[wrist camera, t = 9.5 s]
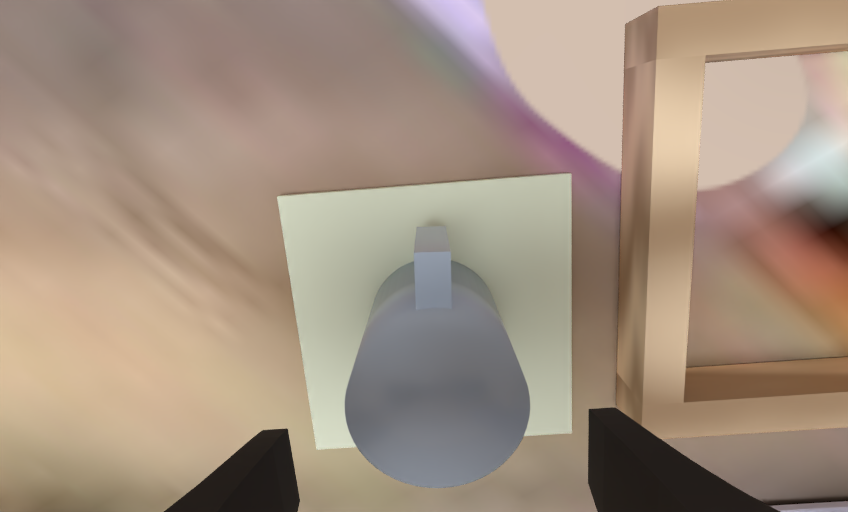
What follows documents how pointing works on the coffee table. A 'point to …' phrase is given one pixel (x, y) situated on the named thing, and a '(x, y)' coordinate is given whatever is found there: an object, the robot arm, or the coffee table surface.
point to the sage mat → (470, 245)
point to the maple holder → (675, 223)
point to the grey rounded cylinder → (436, 374)
